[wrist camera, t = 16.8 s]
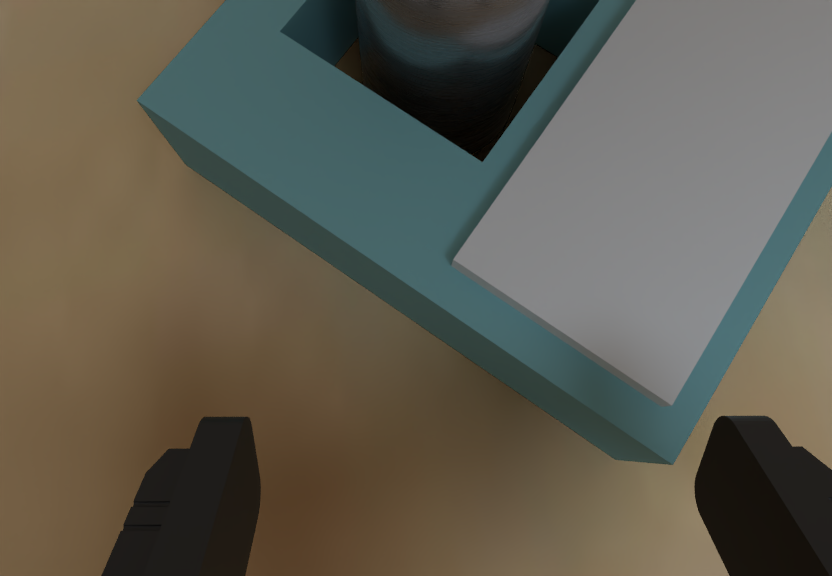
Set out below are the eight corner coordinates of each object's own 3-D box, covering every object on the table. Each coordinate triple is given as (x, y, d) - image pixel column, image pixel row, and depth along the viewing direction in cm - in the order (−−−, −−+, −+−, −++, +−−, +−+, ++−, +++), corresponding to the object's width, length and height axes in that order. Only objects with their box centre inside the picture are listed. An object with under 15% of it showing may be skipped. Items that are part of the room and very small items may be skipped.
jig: (825, 105, 22) (937, 18, 17) (615, 459, 19) (684, 465, 14) (433, -128, 23) (441, -262, 19) (185, 164, 21) (127, 88, 16)
